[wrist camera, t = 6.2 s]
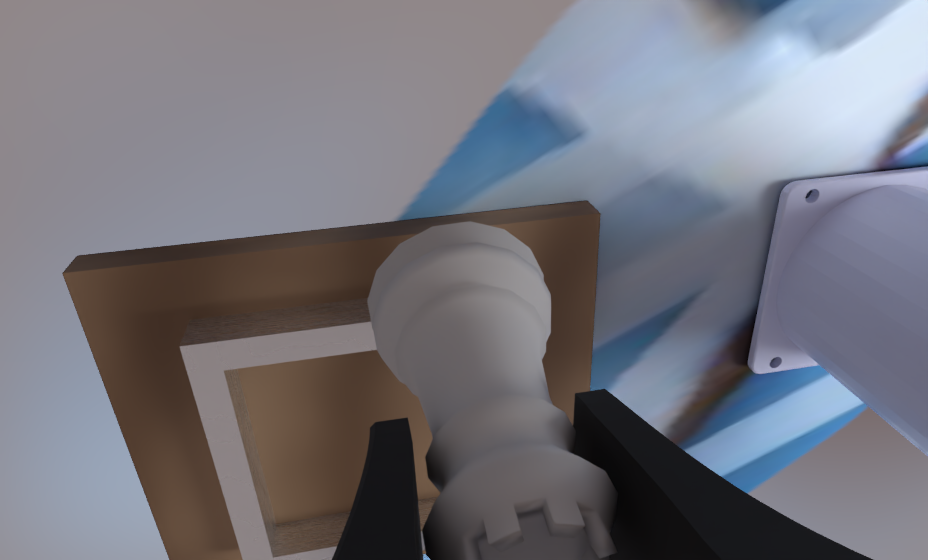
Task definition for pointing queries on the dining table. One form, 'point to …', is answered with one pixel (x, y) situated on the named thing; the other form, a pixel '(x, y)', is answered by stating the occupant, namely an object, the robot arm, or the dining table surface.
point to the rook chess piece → (488, 399)
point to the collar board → (287, 371)
